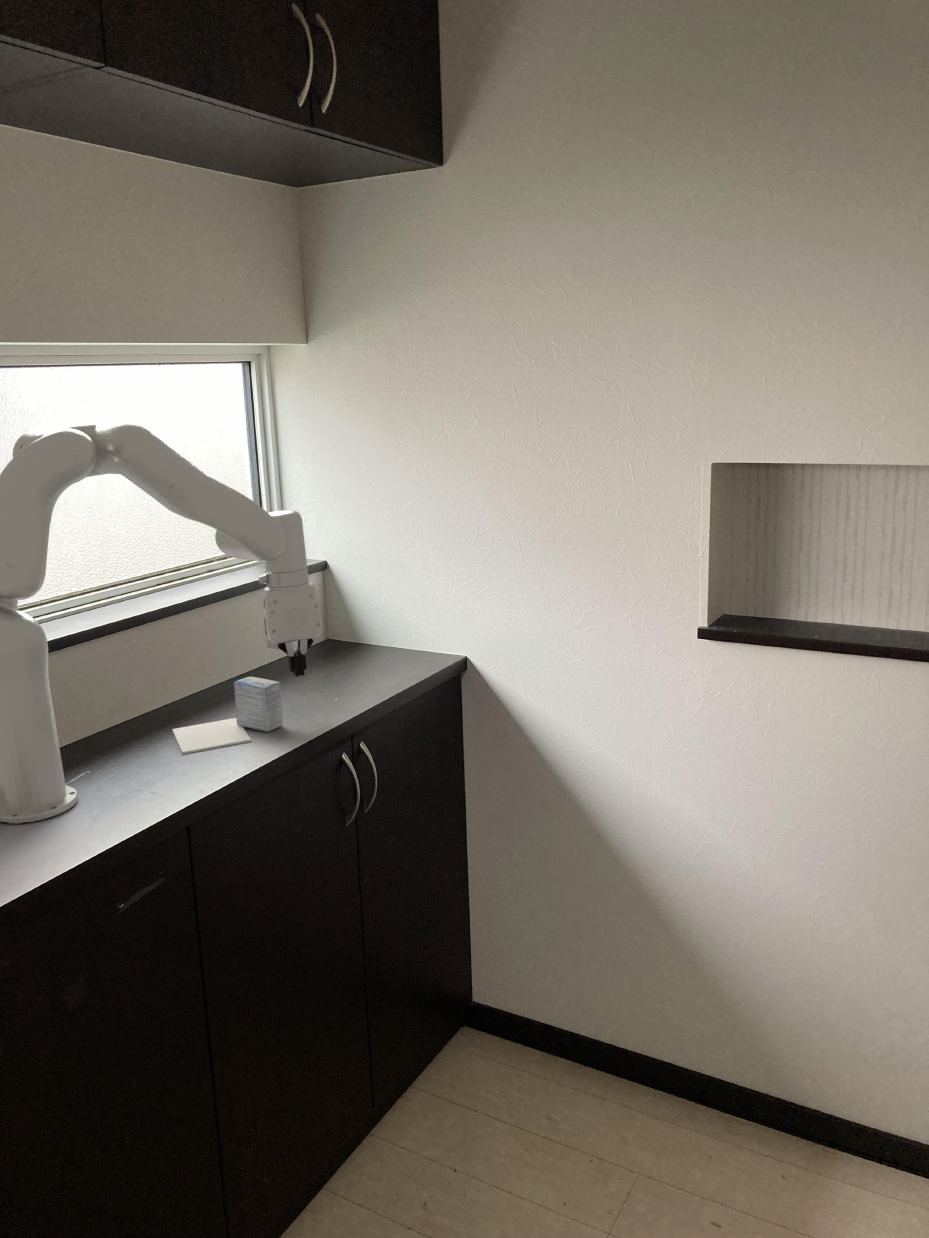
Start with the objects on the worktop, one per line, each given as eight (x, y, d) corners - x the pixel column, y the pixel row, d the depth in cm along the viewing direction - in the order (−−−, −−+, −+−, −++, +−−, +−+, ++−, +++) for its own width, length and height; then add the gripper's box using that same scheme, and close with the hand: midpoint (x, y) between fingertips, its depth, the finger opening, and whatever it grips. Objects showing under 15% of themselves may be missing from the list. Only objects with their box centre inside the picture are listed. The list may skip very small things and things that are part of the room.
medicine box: (283, 726, 190) (281, 681, 188) (266, 733, 186) (264, 687, 185) (253, 719, 194) (250, 675, 192) (235, 725, 191) (233, 680, 189)
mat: (182, 754, 179) (182, 752, 179) (172, 731, 191) (172, 729, 191) (251, 741, 183) (250, 739, 183) (236, 719, 196) (236, 717, 196)
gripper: (251, 587, 181) (263, 686, 185) (332, 576, 186) (342, 672, 191) (243, 581, 188) (254, 676, 192) (322, 570, 193) (331, 662, 197)
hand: (298, 674), depth 191 cm, fingers closed
